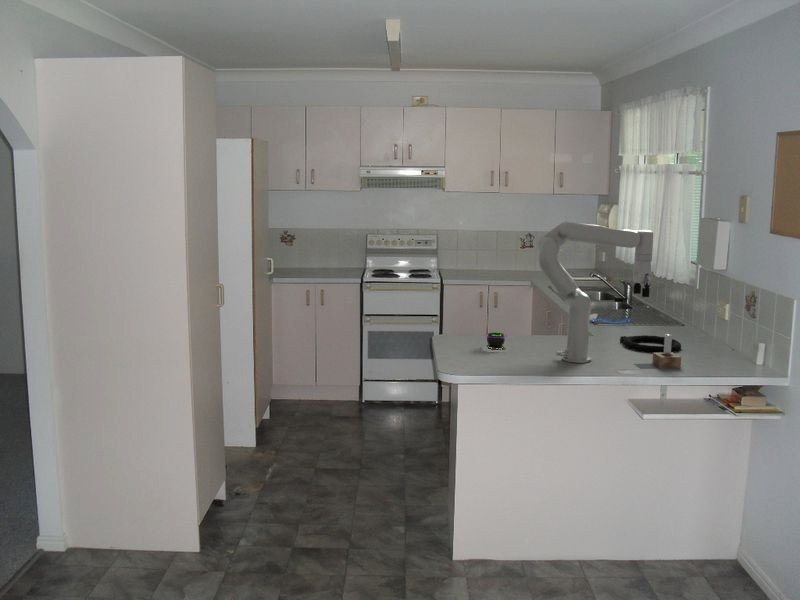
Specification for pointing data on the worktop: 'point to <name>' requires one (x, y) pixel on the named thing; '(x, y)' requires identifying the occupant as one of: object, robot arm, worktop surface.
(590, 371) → the worktop surface
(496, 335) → the toy cauldron
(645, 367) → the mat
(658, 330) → the worktop surface
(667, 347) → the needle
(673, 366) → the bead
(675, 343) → the cable lock
